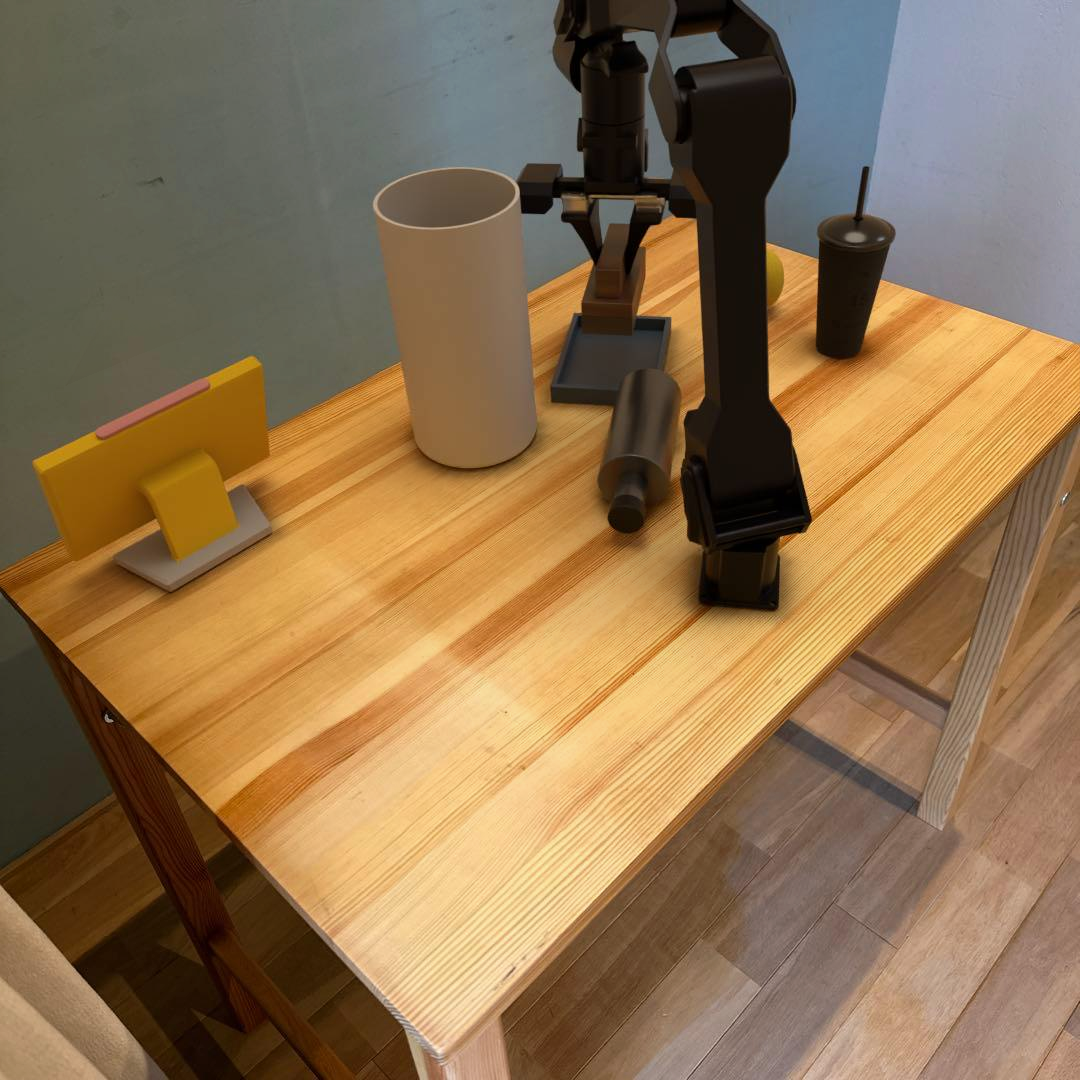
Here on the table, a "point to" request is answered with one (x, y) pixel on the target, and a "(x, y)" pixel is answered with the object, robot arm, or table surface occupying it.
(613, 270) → the scrub brush
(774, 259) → the lemon
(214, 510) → the yellow framed monitor
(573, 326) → the tray
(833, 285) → the drinking cup
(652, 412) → the bottle
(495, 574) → the table surface
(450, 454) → the cylinder vase
